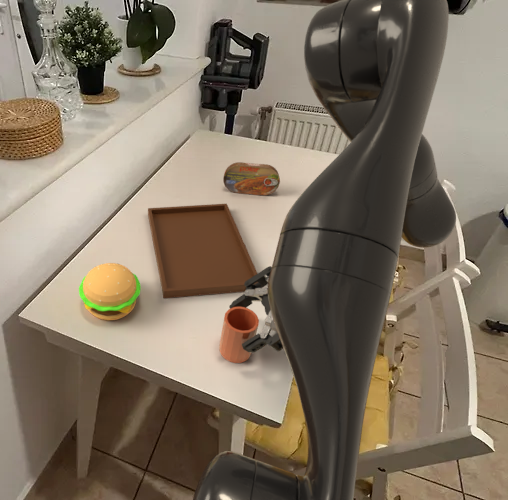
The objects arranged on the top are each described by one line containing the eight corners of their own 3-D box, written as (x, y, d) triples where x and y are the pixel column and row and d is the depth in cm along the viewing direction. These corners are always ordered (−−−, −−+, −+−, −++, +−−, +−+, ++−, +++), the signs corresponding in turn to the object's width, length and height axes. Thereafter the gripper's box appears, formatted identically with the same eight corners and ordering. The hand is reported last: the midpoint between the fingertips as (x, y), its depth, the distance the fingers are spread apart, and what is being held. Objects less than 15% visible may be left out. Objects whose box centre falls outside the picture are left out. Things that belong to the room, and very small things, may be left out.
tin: (221, 191, 119) (225, 164, 114) (222, 185, 122) (225, 159, 116) (276, 197, 118) (282, 170, 112) (276, 191, 120) (282, 164, 115)
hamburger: (144, 285, 91) (144, 254, 85) (136, 329, 82) (135, 298, 76) (88, 280, 92) (85, 249, 86) (74, 323, 83) (69, 292, 77)
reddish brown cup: (255, 361, 77) (263, 331, 71) (223, 364, 76) (229, 334, 71) (245, 335, 81) (253, 305, 76) (215, 338, 80) (220, 307, 75)
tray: (260, 290, 90) (262, 283, 89) (163, 298, 88) (163, 291, 87) (225, 210, 113) (226, 203, 111) (147, 214, 110) (147, 208, 109)
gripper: (289, 236, 72) (215, 290, 78) (325, 298, 61) (236, 355, 67) (312, 258, 76) (240, 307, 82) (349, 320, 65) (263, 371, 71)
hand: (238, 328), depth 75 cm, fingers open, 8 cm apart
